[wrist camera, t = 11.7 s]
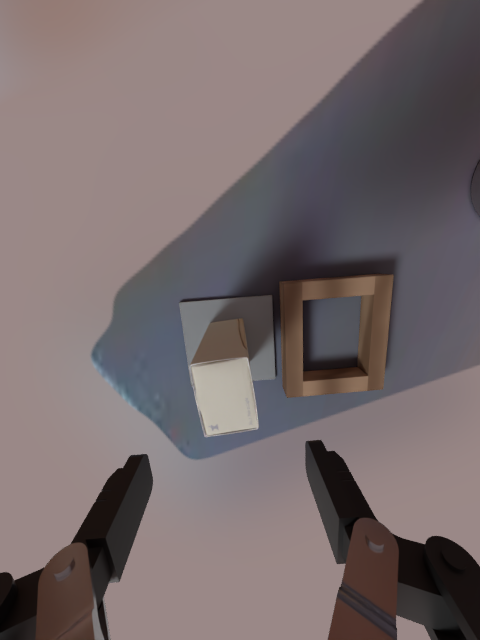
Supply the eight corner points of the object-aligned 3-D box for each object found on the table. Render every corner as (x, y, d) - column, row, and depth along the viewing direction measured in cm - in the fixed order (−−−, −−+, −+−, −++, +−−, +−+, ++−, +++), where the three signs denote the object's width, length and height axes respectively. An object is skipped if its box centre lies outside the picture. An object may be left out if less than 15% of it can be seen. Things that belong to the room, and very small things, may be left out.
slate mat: (271, 294, 27) (272, 295, 27) (274, 377, 30) (275, 378, 30) (179, 302, 27) (179, 302, 27) (191, 384, 30) (191, 386, 30)
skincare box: (249, 363, 29) (262, 432, 17) (215, 368, 29) (204, 440, 17) (242, 315, 28) (251, 356, 16) (206, 321, 28) (187, 365, 16)
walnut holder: (379, 273, 27) (393, 274, 25) (371, 379, 31) (383, 389, 28) (279, 281, 27) (284, 283, 25) (282, 386, 31) (287, 397, 28)
